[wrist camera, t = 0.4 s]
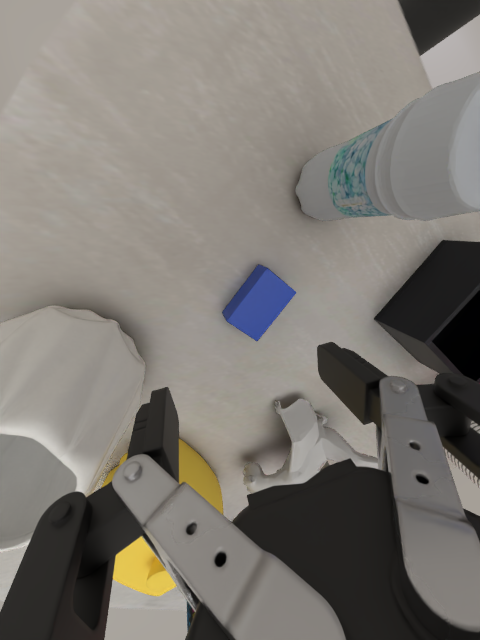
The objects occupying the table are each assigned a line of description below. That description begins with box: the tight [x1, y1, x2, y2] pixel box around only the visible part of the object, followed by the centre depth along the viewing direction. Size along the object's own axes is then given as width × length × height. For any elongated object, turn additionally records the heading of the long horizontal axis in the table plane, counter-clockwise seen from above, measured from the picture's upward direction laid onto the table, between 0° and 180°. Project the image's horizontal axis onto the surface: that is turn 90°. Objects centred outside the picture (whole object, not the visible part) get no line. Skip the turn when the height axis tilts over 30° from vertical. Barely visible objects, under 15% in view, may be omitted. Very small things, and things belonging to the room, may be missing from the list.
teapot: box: [102, 439, 223, 596], centre depth 31 cm, size 20×12×12 cm, turn 29°
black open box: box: [374, 240, 480, 383], centre depth 33 cm, size 13×13×8 cm
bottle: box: [296, 72, 480, 221], centre depth 17 cm, size 7×7×20 cm
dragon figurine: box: [243, 399, 378, 494], centre depth 35 cm, size 15×15×9 cm
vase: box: [0, 305, 146, 553], centre depth 20 cm, size 14×14×15 cm
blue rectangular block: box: [222, 264, 296, 341], centre depth 28 cm, size 7×4×3 cm, turn 141°
